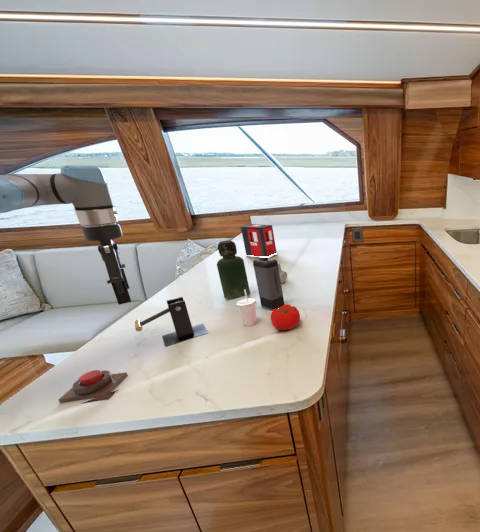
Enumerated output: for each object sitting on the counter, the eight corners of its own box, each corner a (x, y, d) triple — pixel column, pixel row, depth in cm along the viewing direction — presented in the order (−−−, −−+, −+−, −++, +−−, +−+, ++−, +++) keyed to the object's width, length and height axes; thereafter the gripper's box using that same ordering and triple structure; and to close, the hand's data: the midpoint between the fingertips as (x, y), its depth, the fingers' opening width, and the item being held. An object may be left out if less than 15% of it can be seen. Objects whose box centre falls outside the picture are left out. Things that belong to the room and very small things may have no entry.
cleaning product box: (276, 255, 196) (272, 225, 189) (267, 259, 188) (261, 227, 181) (256, 253, 201) (251, 224, 194) (246, 257, 193) (240, 226, 186)
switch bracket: (166, 350, 95) (153, 311, 90) (163, 338, 101) (151, 302, 97) (209, 335, 102) (199, 299, 98) (203, 326, 109) (194, 291, 104)
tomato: (276, 335, 101) (273, 318, 99) (269, 322, 110) (266, 306, 108) (304, 327, 106) (302, 310, 104) (296, 315, 115) (294, 300, 113)
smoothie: (264, 323, 110) (257, 288, 105) (249, 331, 104) (241, 295, 100) (252, 319, 112) (245, 285, 108) (237, 327, 107) (229, 292, 102)
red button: (76, 387, 74) (74, 381, 73) (89, 376, 78) (86, 371, 77) (95, 384, 75) (93, 378, 74) (106, 374, 79) (104, 368, 78)
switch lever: (138, 333, 90) (133, 327, 89) (137, 326, 95) (132, 320, 93) (185, 309, 97) (180, 303, 96) (182, 303, 101) (178, 297, 100)
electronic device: (286, 305, 123) (279, 259, 117) (274, 311, 119) (265, 264, 112) (271, 301, 128) (264, 256, 122) (259, 306, 123) (250, 260, 117)
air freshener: (273, 278, 154) (270, 260, 151) (289, 278, 154) (286, 260, 150) (263, 286, 144) (260, 267, 140) (280, 286, 143) (277, 267, 140)
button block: (61, 406, 73) (54, 393, 71) (86, 384, 80) (81, 372, 79) (108, 399, 75) (103, 386, 73) (129, 378, 82) (124, 366, 81)
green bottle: (222, 295, 135) (209, 242, 127) (246, 289, 142) (235, 237, 134) (227, 302, 128) (214, 246, 120) (253, 295, 134) (242, 241, 126)
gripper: (119, 228, 75) (143, 305, 82) (118, 218, 92) (138, 281, 99) (77, 233, 70) (106, 314, 77) (84, 221, 87) (107, 287, 94)
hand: (124, 295), depth 88 cm, fingers open, 13 cm apart
